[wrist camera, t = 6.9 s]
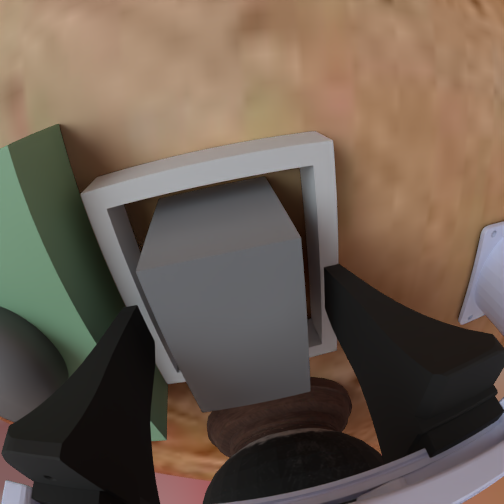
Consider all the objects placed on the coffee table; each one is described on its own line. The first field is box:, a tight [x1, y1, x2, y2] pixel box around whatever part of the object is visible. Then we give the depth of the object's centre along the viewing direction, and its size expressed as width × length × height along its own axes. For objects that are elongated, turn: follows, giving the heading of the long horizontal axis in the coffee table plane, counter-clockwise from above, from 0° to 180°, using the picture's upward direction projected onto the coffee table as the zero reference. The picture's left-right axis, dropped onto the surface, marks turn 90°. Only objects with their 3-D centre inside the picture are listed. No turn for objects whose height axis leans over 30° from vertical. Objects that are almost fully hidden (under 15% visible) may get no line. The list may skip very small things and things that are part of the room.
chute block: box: [136, 176, 310, 412], centre depth 12 cm, size 4×7×6 cm, turn 9°
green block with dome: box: [0, 124, 338, 441], centre depth 12 cm, size 20×16×6 cm
